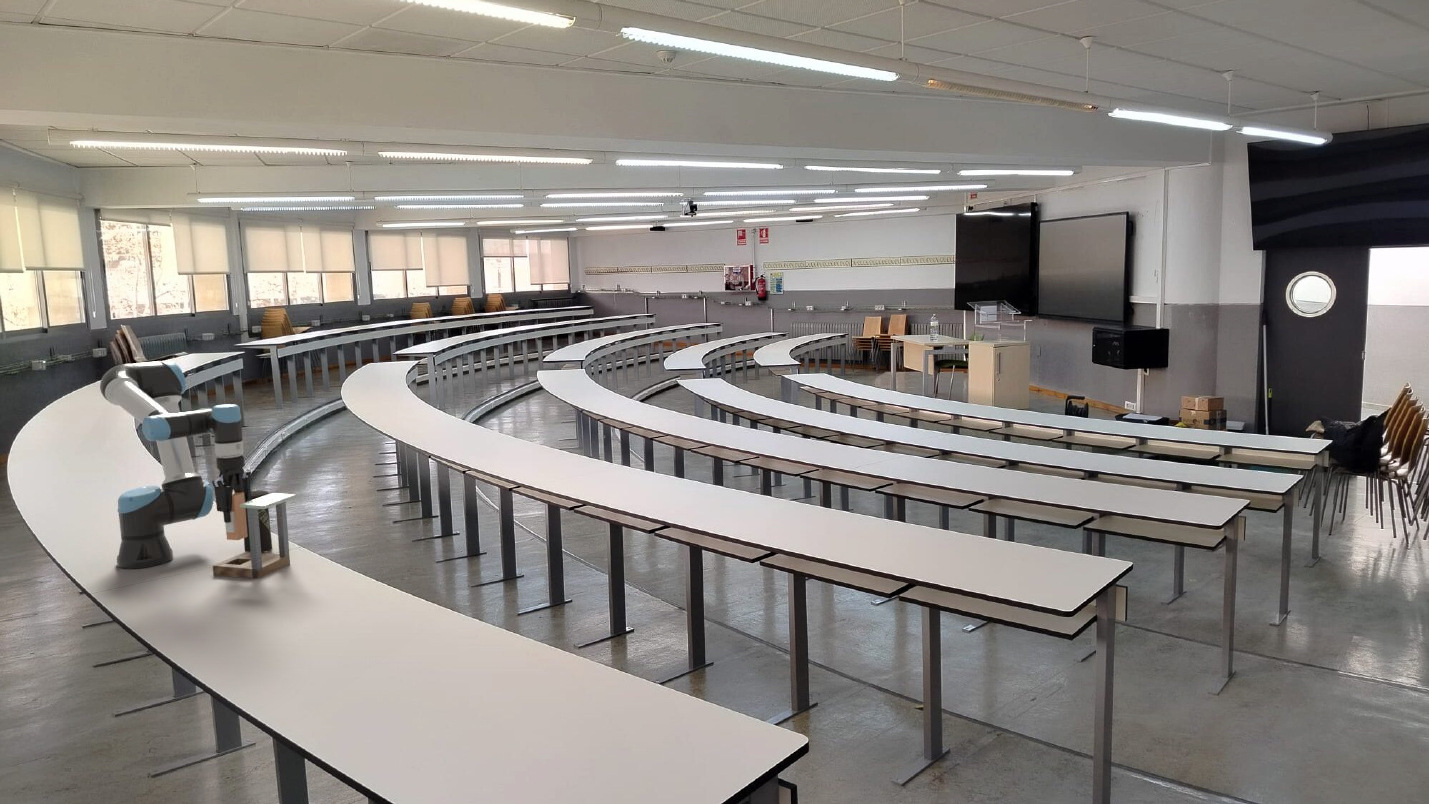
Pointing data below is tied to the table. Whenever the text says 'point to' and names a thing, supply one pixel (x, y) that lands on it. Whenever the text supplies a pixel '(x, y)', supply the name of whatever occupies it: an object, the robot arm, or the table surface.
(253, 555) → the white topped stool
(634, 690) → the table surface
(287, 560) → the socket board
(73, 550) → the table surface
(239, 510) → the peg
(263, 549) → the container
